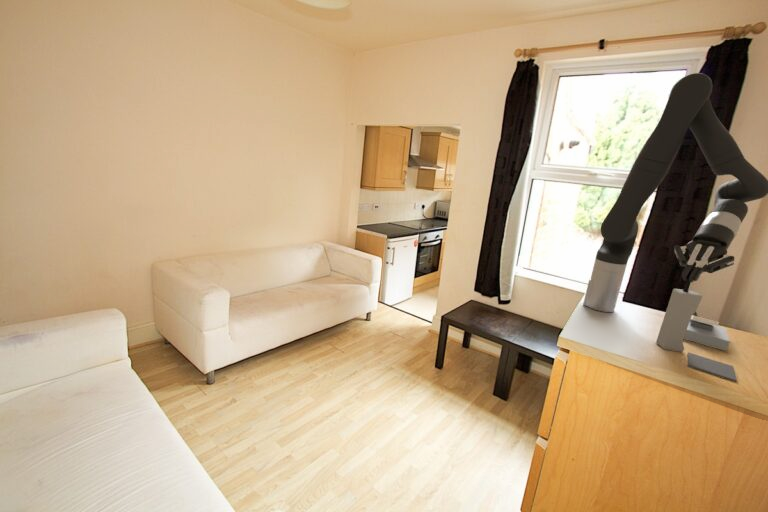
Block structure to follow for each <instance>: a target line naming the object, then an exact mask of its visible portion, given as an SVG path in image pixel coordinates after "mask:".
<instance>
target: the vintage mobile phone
mask: <svg viewBox="0 0 768 512" xmlns="http://www.w3.org/2000/svg"><path fill="white" fill-rule="evenodd" d="M697 265H698V262H697V263H696V262H694V263H693V266H692V269H691V272H690V275H691V273H692V272H693V270H694V268H695V267H697ZM690 275H689V277H690ZM691 283H692V282H689V278H688V280H687V281H686V283H685V285H684V288H683V289H682V288H681V289H680V288H673V289H672V292H671V295H670V298H669V301H668V305H667V307H666V310H665V314H664V316H663V320H662V323H661V326H660V329H659V332H658V335H657V337H656V338H657V339H656V344H657V345H659V347H661V348H662V349H663V350H667V351H674V352H679V353H682V352H685V351H684V350H685V346H684V342H683V341H684V340H685V339H684V336H685V333H686V330H687V327H688V325H689V322H690V319H691V316H692V315H695V313H696V311H697V309H698V307H699V304H700V303H701V301H702V298H703V295H702V294H700V293H698V292H696V291H695V290H689V288H690V285H691Z"/></svg>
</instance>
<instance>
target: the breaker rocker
mask: <svg viewBox="0 0 768 512" xmlns="http://www.w3.org/2000/svg"><path fill="white" fill-rule="evenodd" d="M691 319H692V320H696V321H700V322H704V323H707V324H711V325H716V326H719V324H720V321H718V320H713V319H709V318H706V317H702V316H697V315H695V314H693V315H692V316H691Z"/></svg>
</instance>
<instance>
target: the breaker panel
mask: <svg viewBox="0 0 768 512" xmlns="http://www.w3.org/2000/svg"><path fill="white" fill-rule="evenodd" d="M683 340H687V341H690V342H694V343H697V344H701V345H704V346H708V347H711V348H714V349H717V348H718V350H721V351H723V352H726V351H727V349H728V347H729V344H730V338H729V336H728V332H727V329H726V327H724V326H720V325H718V326H716V325H711V324H707V323H704V322H700V321H696V320H692V319H690V322H689V325H688V327H687V330H686V333H685V336H684V339H683Z"/></svg>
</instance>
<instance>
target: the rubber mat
mask: <svg viewBox="0 0 768 512" xmlns="http://www.w3.org/2000/svg"><path fill="white" fill-rule="evenodd" d="M686 355H687V356H686V357H687V367H689V368H692V369H695V370H697V371H700V372H703V373H707V374H709V373H710V374H709V375H712V374H713V376H715V375H716V377H719V378H722V377H723V378H722V379H725V380H728V381H730V382H731V381H732V382H734V383H737V381H738V380H737V375H736V372H735V368H734V365H730V364H727V363H724V362H721V361H719V360H714V359H711V358H708V357H705V356H701V355H698V354H695V353H691V352H687V354H686Z"/></svg>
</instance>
